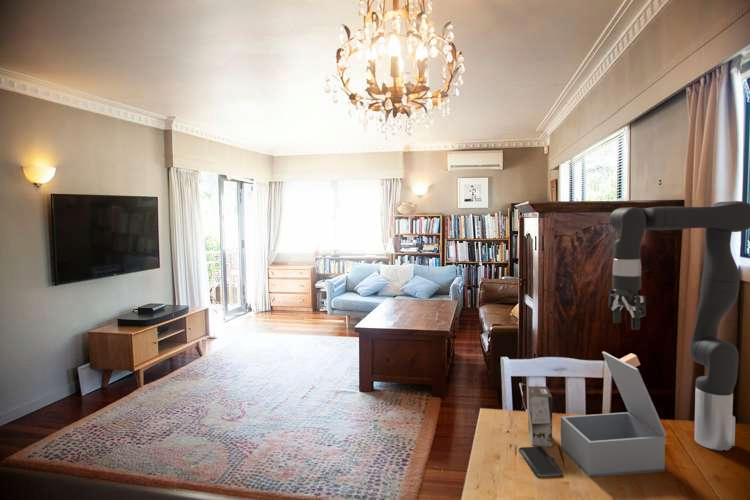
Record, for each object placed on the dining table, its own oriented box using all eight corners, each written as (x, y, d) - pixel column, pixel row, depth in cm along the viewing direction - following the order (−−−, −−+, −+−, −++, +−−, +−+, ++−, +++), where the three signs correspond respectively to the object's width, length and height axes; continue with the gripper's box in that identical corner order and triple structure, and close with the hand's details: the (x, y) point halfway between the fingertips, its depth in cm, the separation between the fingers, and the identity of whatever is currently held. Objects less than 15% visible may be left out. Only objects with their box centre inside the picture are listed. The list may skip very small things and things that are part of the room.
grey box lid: (628, 411, 140) (642, 404, 140) (665, 436, 124) (680, 428, 124) (601, 352, 138) (616, 344, 138) (635, 369, 122) (652, 361, 122)
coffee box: (553, 447, 140) (553, 397, 139) (531, 445, 141) (531, 396, 140) (547, 433, 149) (547, 386, 148) (527, 431, 150) (527, 385, 149)
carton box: (627, 442, 141) (628, 412, 140) (664, 471, 125) (665, 437, 124) (560, 447, 139) (560, 416, 139) (589, 477, 123) (589, 442, 123)
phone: (536, 475, 124) (517, 447, 139) (536, 479, 124) (517, 450, 139) (564, 473, 124) (542, 446, 139) (564, 477, 124) (542, 449, 139)
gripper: (655, 276, 128) (654, 331, 129) (623, 270, 142) (622, 320, 144) (630, 277, 127) (629, 332, 129) (600, 271, 142) (600, 321, 143)
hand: (626, 326), depth 136 cm, fingers open, 8 cm apart
